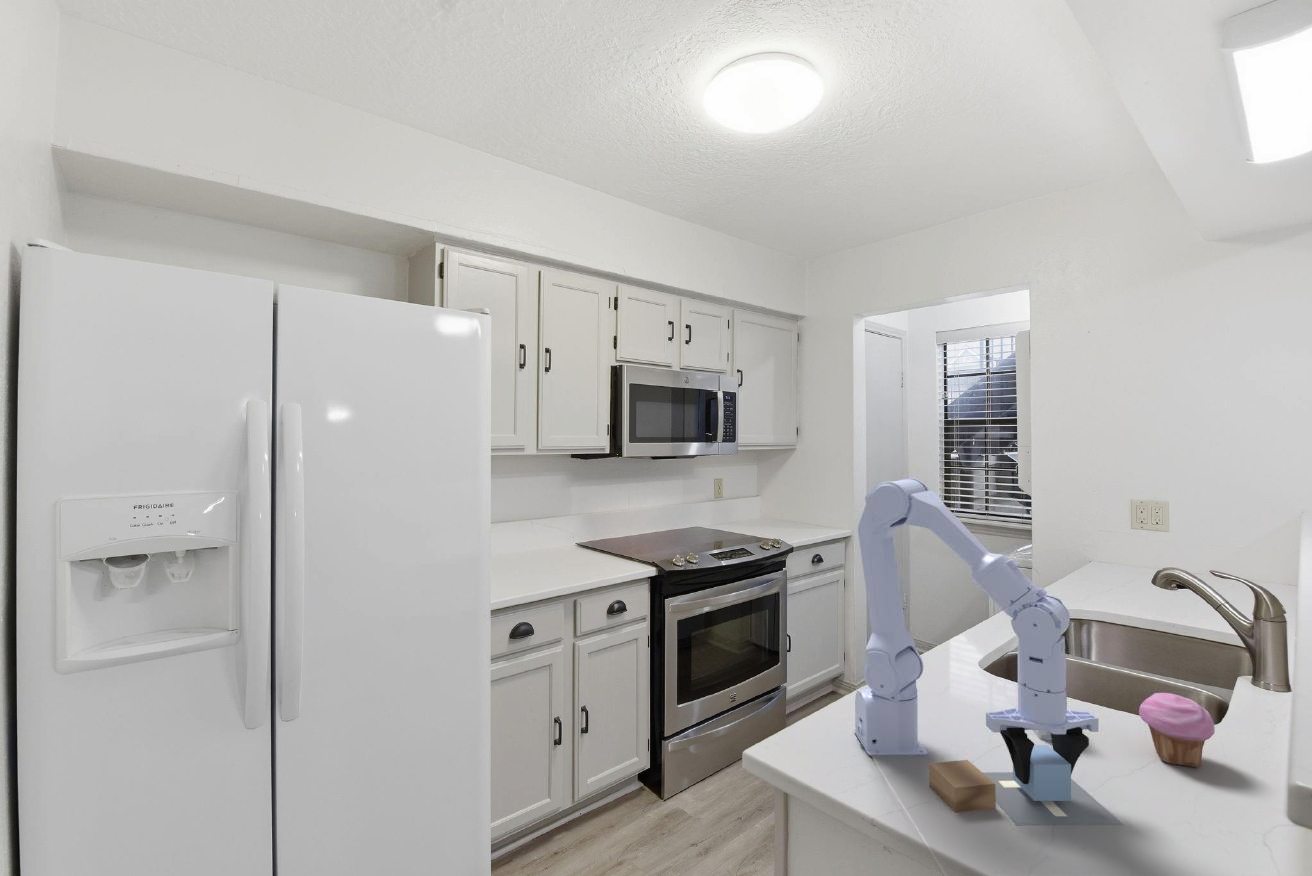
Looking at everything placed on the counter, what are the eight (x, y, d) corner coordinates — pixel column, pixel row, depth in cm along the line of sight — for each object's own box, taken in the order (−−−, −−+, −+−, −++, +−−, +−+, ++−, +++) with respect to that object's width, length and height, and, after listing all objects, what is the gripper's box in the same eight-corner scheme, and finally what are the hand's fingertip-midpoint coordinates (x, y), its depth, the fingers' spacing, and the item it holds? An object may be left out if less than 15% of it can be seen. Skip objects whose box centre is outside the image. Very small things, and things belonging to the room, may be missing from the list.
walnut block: (954, 816, 81) (954, 787, 81) (929, 790, 87) (929, 763, 87) (995, 812, 82) (995, 783, 82) (967, 786, 88) (967, 759, 88)
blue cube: (1034, 800, 82) (1034, 764, 82) (1013, 779, 87) (1012, 745, 87) (1071, 800, 82) (1070, 764, 82) (1047, 779, 87) (1047, 745, 87)
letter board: (1016, 828, 79) (1016, 825, 79) (970, 775, 91) (970, 772, 91) (1124, 828, 78) (1124, 824, 78) (1063, 774, 90) (1063, 771, 90)
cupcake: (1152, 768, 92) (1152, 703, 91) (1130, 740, 100) (1130, 681, 99) (1226, 780, 88) (1226, 713, 88) (1198, 750, 96) (1198, 688, 96)
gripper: (1005, 697, 80) (1005, 797, 80) (1115, 696, 80) (1115, 797, 80) (977, 675, 87) (978, 767, 88) (1078, 674, 87) (1078, 767, 87)
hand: (1041, 780), depth 84 cm, fingers closed on blue cube, 5 cm apart
